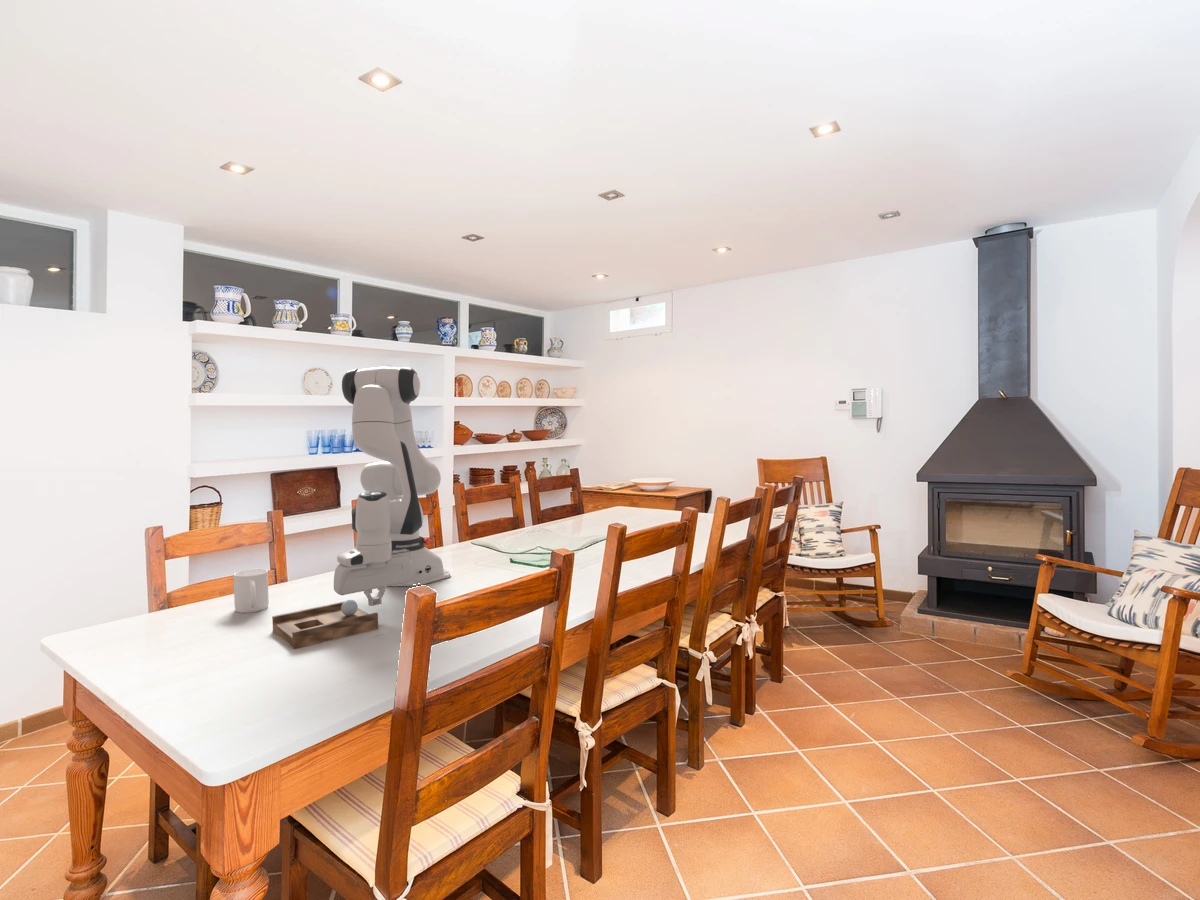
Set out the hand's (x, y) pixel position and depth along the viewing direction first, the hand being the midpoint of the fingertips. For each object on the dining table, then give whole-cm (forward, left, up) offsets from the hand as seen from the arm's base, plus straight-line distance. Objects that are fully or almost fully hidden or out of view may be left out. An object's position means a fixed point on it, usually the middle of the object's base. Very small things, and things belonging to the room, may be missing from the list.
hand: (375, 604), depth 164 cm
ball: (+7, 0, -1) cm, 7 cm away
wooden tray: (+13, 0, -4) cm, 13 cm away
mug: (+22, -30, -4) cm, 37 cm away
